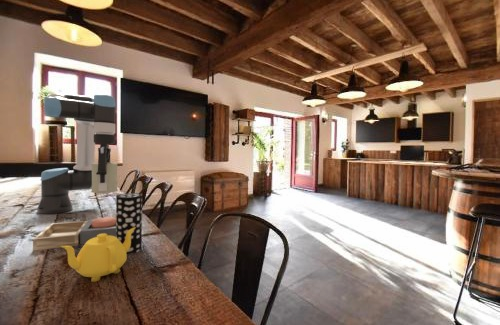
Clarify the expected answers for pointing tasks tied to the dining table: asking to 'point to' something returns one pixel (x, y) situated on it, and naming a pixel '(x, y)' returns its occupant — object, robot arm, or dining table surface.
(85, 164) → the robot arm
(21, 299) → the dining table surface
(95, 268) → the teapot
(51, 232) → the wooden tray
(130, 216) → the spotted tube
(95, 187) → the can
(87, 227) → the grey square tray
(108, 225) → the pad
